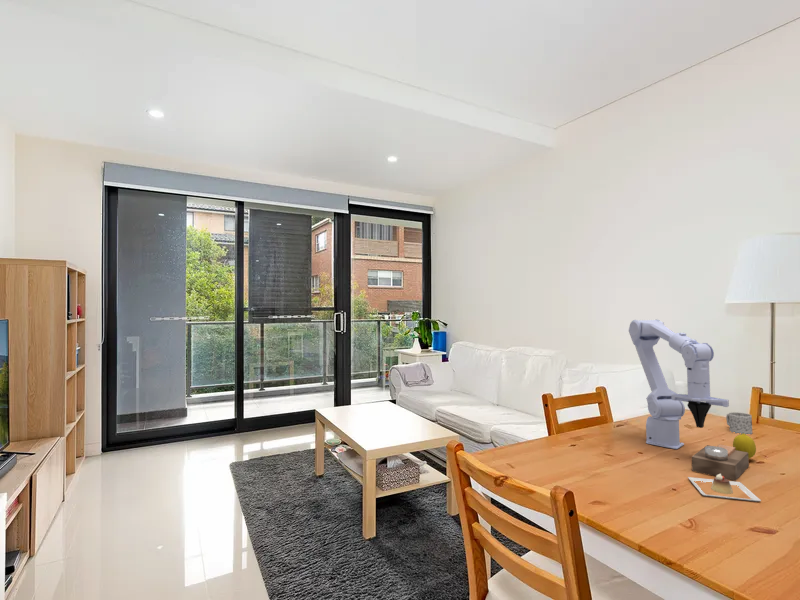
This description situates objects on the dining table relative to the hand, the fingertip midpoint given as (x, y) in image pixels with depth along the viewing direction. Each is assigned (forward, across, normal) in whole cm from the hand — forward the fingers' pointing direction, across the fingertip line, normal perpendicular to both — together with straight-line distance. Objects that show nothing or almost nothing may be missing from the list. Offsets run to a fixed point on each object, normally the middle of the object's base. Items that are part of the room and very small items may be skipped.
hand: (700, 427), depth 133 cm
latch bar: (+6, +6, -1) cm, 8 cm away
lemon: (+10, +9, +9) cm, 16 cm away
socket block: (+10, +6, -5) cm, 13 cm away
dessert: (+11, +10, -23) cm, 27 cm away
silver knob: (+9, +6, -9) cm, 14 cm away
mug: (+10, 0, +47) cm, 48 cm away
